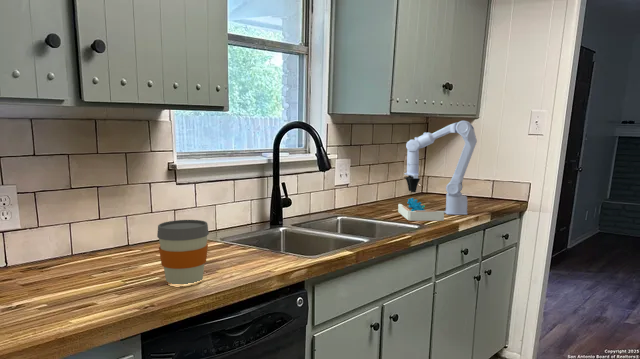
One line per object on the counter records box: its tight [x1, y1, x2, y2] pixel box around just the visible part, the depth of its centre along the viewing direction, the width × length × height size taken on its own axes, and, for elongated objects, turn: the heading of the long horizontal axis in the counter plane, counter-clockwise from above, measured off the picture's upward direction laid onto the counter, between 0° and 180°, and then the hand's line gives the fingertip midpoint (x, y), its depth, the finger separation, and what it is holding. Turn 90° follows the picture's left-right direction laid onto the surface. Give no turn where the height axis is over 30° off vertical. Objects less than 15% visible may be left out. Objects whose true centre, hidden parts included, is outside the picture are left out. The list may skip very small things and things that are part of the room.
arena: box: [397, 203, 445, 222], centre depth 211 cm, size 16×22×4 cm
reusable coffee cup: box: [156, 219, 210, 284], centre depth 117 cm, size 13×12×15 cm
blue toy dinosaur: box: [407, 197, 427, 211], centre depth 216 cm, size 11×6×10 cm
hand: (412, 191), depth 226 cm, fingers open, 4 cm apart
